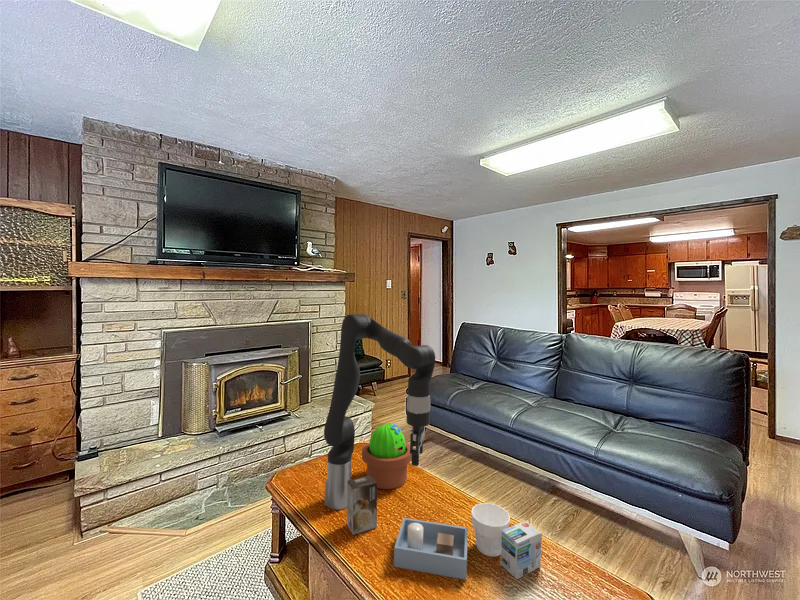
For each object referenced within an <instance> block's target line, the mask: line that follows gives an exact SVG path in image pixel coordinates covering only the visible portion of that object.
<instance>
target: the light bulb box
mask: <svg viewBox="0 0 800 600" xmlns="http://www.w3.org/2000/svg"><path fill="white" fill-rule="evenodd" d="M542 536H543V534H542V532H541V531H539V530H538V529H536V528H535V527H534V526H532V525H531V524H530V523H529V522H527V521H526V520H524V521H522V522H519V523H517V524H514V525H512V526H509V528H507V529H504V530H502V544H501V555H500V565H501V566H502V567H503V568H504V569H505V570H506V571H507V572H508V573H509V574H510V575H511V576H514V577H513V578H515V580H518V579H520V577H521V578H522V576H523V577H524V575H525V576H527V575H529V574H531V573H533V572H535V571H536V570H535V569H537V568H539V569H541V561H542V560H541V559H542ZM534 570H535V571H534ZM537 570H538V569H537ZM532 571H533V572H532ZM530 572H531V573H530ZM528 573H529V574H528ZM526 574H527V575H526Z"/></svg>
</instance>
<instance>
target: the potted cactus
mask: <svg viewBox="0 0 800 600" xmlns="http://www.w3.org/2000/svg"><path fill="white" fill-rule="evenodd" d="M404 435H405V434H404V433H403V431H402V429H401V428H400V427H398V426H397V424H395V423H392V424H391V422H389V423H384V424H381V425H379V426H378V427H376V428H374V430H373V431H372V433H371V435H370V438H369V437H368V438H369V439H368V440H369V442H367V443H365V444H364V445H363V447H362V448H361V459H362V461H363V462H364V463H365V464H366V476H369V475H370V476H371V477H372V478H373V479H374V480H375V481H376V482H377V489H381V490H392V489H393V490H394V489H397V488H399V487H401V486H403V485H404V484H405V483H406V481H407V478H408V473H407V472H408V464H410V463H411V462H412V454H410V444H409V443H407V442H406V438H405V436H404Z"/></svg>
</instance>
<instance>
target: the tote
mask: <svg viewBox="0 0 800 600" xmlns="http://www.w3.org/2000/svg"><path fill="white" fill-rule="evenodd" d="M411 523H419V524H421V525H422V526H423V551H422V550H417V549H411V548H407V544H408V525H409V524H411ZM468 530H469V528H468V527H466V526H465V527H464V526H458V525H453V524H447V523H446V524H445V523H440V522H434V521H426V520H421V519H414V518H408V517H407V518H406V517H403V519H402V522H401V525H400V529H399V532H398V534H397V537H396V541H395V545H394V547H393V548H394V549H393V567H394V568H395V567H396V568H401V569H405V570H411V571H417V572H420V573H421V572H422V573H425V574H426V573H427V574H431V575H438V576H443V577H449V578H454V579H458V580H459V579H460V580H464V581H467V575H468V574H467V573H468V570H467V569H468V568H467V567H468ZM438 533H443V534H449V535H454V549H453V556H451V555H446V554H440V553H436V544H437V537H438Z"/></svg>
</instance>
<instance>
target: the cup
mask: <svg viewBox="0 0 800 600" xmlns="http://www.w3.org/2000/svg"><path fill="white" fill-rule="evenodd" d="M470 515H471V522H472V523H471V524H472V527H473V530H474V537H475V541H476V542H475V543H476V544H475V545H476V548H477V550H478V551H479V552H480V553H481V554H483V555H484V556H487V557H498V556H501V544H502V530H504V529H507V528H509V527H510V522H511V521H510V520H511V516H510V514H509V512H508V511H507V510H506V509H505V508H503V507H502V506H499V505H497V504H495V503H494V504H493V503H490V502H485V503H484V502H483V503H482V502H481V503H477V504H475V505H474V506H473V507H472V508H471V511H470Z"/></svg>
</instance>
